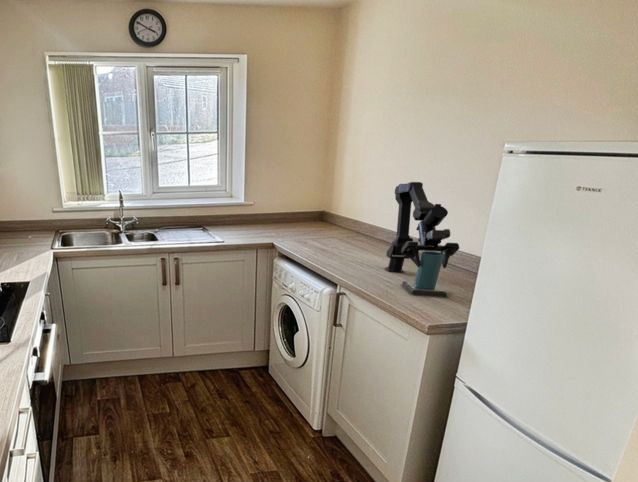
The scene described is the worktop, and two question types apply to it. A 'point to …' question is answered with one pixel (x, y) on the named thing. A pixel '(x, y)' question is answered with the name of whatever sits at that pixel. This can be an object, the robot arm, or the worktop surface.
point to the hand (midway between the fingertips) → (432, 267)
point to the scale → (425, 293)
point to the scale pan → (436, 289)
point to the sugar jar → (428, 269)
